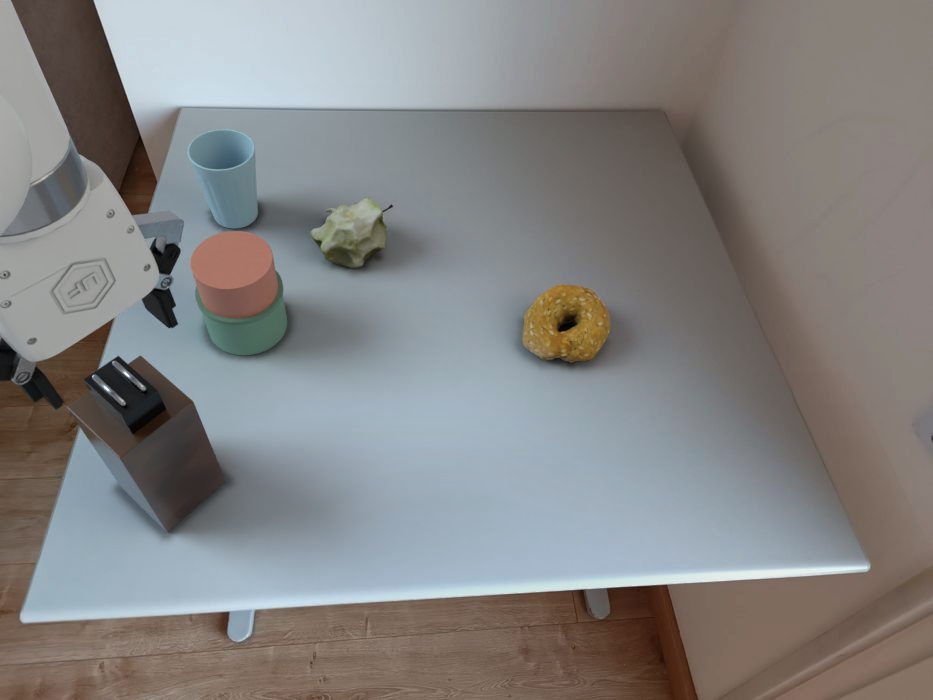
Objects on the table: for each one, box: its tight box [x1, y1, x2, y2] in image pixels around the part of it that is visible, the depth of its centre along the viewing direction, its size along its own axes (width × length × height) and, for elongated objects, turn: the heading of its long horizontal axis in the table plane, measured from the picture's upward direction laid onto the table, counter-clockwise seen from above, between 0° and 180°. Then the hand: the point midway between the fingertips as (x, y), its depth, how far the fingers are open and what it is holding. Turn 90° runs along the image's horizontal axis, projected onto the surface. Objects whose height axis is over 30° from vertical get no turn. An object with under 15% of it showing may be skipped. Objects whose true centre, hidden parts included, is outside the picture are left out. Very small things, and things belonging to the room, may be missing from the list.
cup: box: [186, 128, 259, 230], centre depth 88 cm, size 8×8×10 cm
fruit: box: [310, 197, 394, 269], centre depth 88 cm, size 9×9×8 cm
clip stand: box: [66, 355, 227, 533], centre depth 64 cm, size 7×7×15 cm
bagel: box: [521, 283, 611, 363], centre depth 84 cm, size 10×11×5 cm
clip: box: [82, 355, 166, 434], centre depth 57 cm, size 3×5×3 cm, turn 51°
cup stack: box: [189, 230, 288, 356], centre depth 78 cm, size 9×9×11 cm
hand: (108, 354), depth 53 cm, fingers open, 9 cm apart
